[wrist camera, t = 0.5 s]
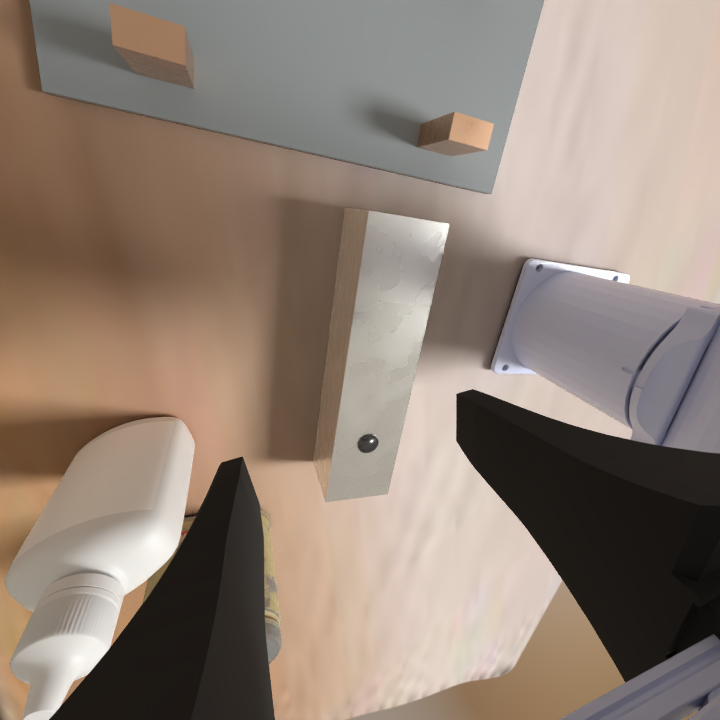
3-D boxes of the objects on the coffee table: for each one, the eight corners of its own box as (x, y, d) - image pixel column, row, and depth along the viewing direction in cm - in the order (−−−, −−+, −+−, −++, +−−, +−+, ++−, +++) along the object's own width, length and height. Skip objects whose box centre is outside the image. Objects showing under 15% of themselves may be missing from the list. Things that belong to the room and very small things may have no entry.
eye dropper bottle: (79, 407, 18) (-128, 694, 8) (199, 415, 20) (164, 647, 10) (78, 476, 19) (-98, 796, 9) (190, 477, 22) (151, 735, 11)
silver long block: (343, 207, 18) (369, 210, 15) (412, 218, 20) (451, 224, 16) (312, 458, 24) (326, 503, 21) (366, 454, 26) (388, 495, 22)
